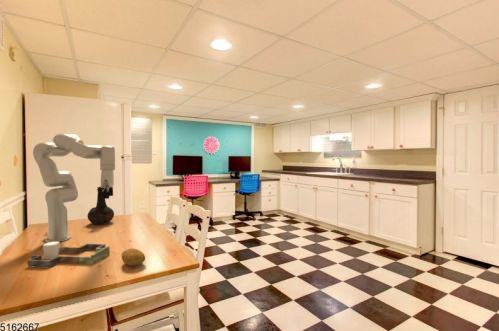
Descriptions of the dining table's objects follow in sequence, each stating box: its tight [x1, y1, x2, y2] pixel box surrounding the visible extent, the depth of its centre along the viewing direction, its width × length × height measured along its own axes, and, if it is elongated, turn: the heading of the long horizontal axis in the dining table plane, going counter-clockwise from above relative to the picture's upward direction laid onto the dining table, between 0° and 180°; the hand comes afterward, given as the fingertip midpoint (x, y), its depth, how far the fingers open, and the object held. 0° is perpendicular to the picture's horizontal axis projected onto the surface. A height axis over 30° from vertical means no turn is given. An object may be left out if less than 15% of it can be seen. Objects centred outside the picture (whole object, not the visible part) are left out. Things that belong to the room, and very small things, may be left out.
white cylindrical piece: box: [42, 241, 60, 260], centre depth 133 cm, size 7×7×7 cm
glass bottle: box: [87, 186, 115, 226], centre depth 198 cm, size 18×18×28 cm
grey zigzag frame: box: [27, 243, 111, 269], centre depth 132 cm, size 32×24×4 cm
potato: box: [121, 248, 146, 267], centre depth 124 cm, size 9×13×7 cm
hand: (108, 197), depth 150 cm, fingers open, 9 cm apart
